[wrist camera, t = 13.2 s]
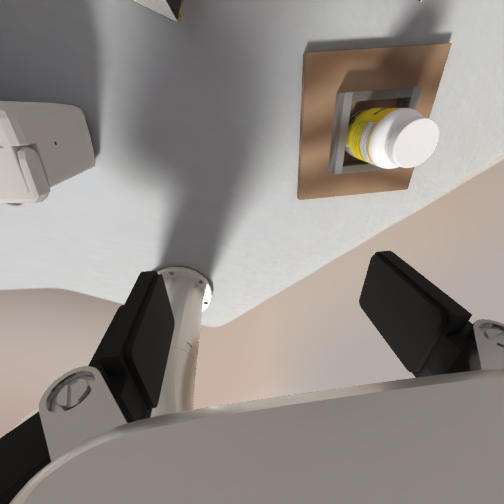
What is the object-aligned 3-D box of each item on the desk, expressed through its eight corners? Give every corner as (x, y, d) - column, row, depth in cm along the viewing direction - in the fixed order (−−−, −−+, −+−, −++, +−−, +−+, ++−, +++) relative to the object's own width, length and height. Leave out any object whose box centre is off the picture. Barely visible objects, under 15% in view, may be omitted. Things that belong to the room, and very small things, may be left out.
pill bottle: (391, 112, 32) (461, 115, 22) (372, 159, 35) (426, 179, 25) (350, 102, 30) (405, 102, 21) (333, 152, 34) (376, 171, 24)
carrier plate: (402, 187, 39) (418, 194, 36) (297, 197, 38) (303, 205, 35) (443, 45, 29) (470, 38, 26) (303, 54, 28) (313, 48, 25)
